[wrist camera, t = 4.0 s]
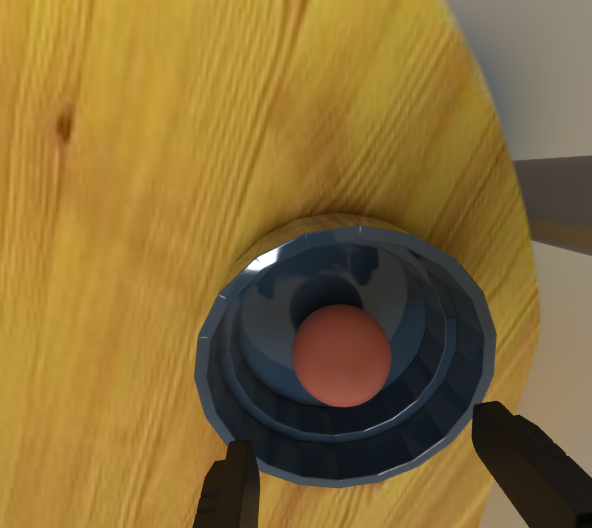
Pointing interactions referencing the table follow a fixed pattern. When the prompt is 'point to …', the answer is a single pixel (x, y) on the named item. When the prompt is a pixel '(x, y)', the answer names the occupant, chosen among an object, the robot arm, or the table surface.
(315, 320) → the toy ball
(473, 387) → the bowl
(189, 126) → the table surface
